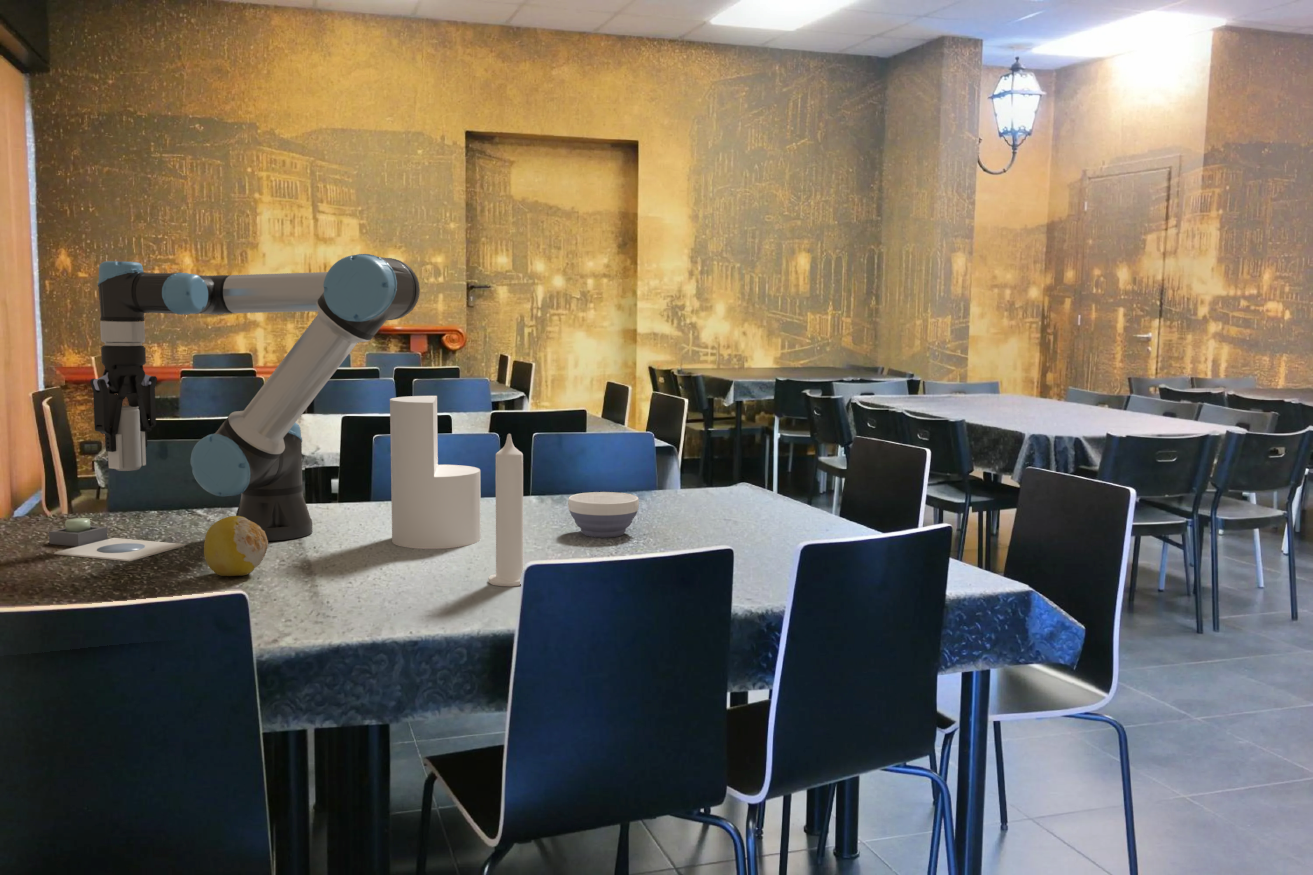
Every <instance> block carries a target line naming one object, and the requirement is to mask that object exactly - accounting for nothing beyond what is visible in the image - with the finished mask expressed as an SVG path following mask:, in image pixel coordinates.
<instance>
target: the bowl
mask: <svg viewBox="0 0 1313 875" xmlns="http://www.w3.org/2000/svg"><path fill="white" fill-rule="evenodd" d="M639 502H640V501H639V497H638V496H637V495H635V494H630V493H624V492H613V491H611V492H610V491H600V492H599V491H593V492H582V493H581V492H580V493H576V494H572V495H570V496H569V497H568V502H567V505H568V511H569V514H570V516H571V517H572V519H573V520H574V523H575V524H576V525H577V527H578V528H580V532H581V534H583V535H584V536H586V537H589V538H598V539H599V538H600V539H611V538H618V537H621V536H623V535H625V533H626V530H627V528H629V527H630V525H631V524H632V523H633V520H634V518H635V517H636V515H637V513H638V510H639V509H640V508H639V505H640V503H639Z"/></svg>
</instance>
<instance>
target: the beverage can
mask: <svg viewBox="0 0 1313 875" xmlns="http://www.w3.org/2000/svg"><path fill="white" fill-rule="evenodd" d="M138 408H139V407H138V406H137V407H131V406H129V405H122V409H121V415H120V421H119V427H118V433H117V434H121V435H122V461H123V469H115V470H116V471H119V472H128V471H129V472H131V471H138V470H140V469H141V467H142V466H141V439H140V411H139V409H138Z"/></svg>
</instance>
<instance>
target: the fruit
mask: <svg viewBox="0 0 1313 875" xmlns="http://www.w3.org/2000/svg"><path fill="white" fill-rule="evenodd" d="M204 537H205V538H204V544H203V556H204V559H205V560H204V561H205V562H206V564H207V566H208V567H209V569H210V570H211V571H212V572H214V574H216V575H218V576H221V577H238V576H239V577H240V576H245V575H249V574H250V573H251V572H253V571H254V570H255V568H257V567H258V566H259V565H260V564H261V563H262V562H263V560H264V558H265V556H266V553H267V550H268V547H269V541H268V540H267V536H266V534H265V531H263V530H262V529H261V527H260V526H259V525H257V524H256V523H254V522H252V521H250V520H248V519H246V518H245V517H241V516H236V515H230V516H227V517H223V518H220V519H218V520H217V521H216V522H214V523H213V524H211V526H210V527H209V528H208V530H207V532H206V533H205V536H204Z"/></svg>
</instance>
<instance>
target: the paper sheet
mask: <svg viewBox="0 0 1313 875" xmlns="http://www.w3.org/2000/svg"><path fill="white" fill-rule="evenodd" d="M185 546H186V544H185V543H175V542H165V541H164V542H163V541H153V540H143V539H129V538H120V537H112V538H107V540H103V541H99V542H94V543H90V544H86V545H82V546H73V547H71V548H66V549H62V550H58V551H55V552H54V553H53V555H61V556H70V557H71V556H72V557H79V558H80V557H81V558H92V559H102V560H111V561H121V562H122V561H123V562H132V561H137V560H139V559H142V558H143V559H144V558H147V557H149V556H153V555H157V554H161V553H164V552H168V551H173V550H175V549H180V548H182V547H185Z"/></svg>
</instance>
